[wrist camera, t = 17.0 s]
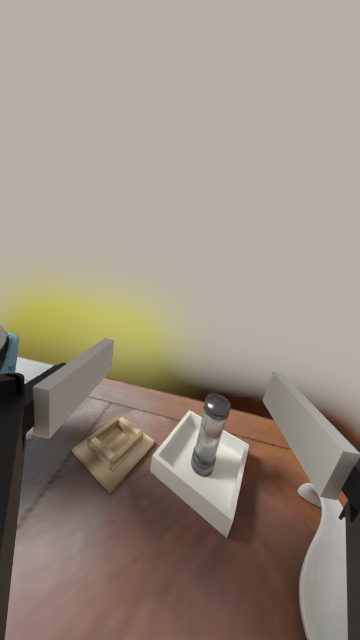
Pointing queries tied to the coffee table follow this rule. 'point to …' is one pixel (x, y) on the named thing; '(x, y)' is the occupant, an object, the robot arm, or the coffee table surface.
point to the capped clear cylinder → (210, 434)
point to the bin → (200, 492)
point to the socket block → (113, 451)
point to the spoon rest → (324, 573)
